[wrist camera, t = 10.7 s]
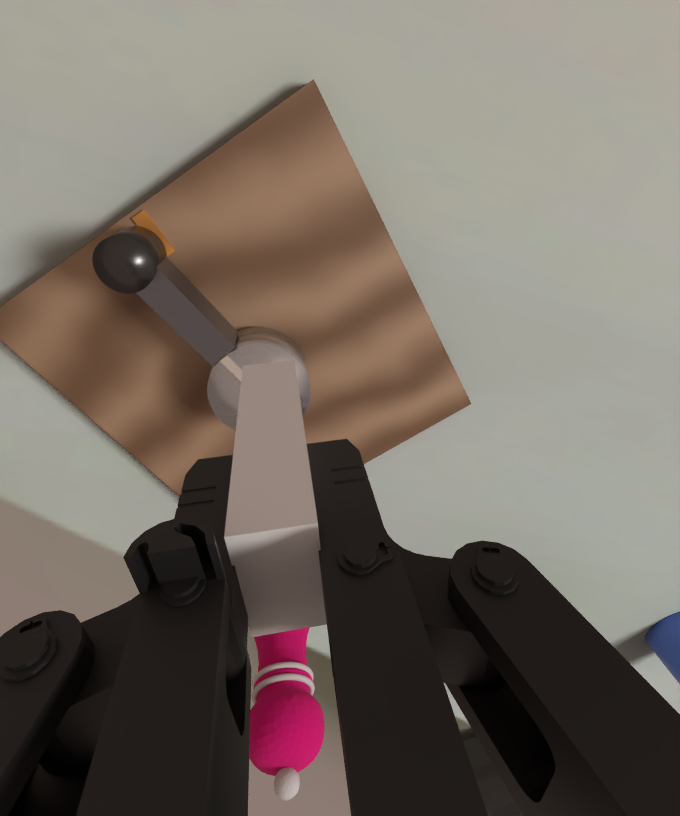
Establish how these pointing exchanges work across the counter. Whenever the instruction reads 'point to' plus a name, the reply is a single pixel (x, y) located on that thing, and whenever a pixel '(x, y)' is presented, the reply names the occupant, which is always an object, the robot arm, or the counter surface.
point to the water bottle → (667, 643)
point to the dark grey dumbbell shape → (194, 317)
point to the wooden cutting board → (249, 303)
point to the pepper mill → (284, 711)
